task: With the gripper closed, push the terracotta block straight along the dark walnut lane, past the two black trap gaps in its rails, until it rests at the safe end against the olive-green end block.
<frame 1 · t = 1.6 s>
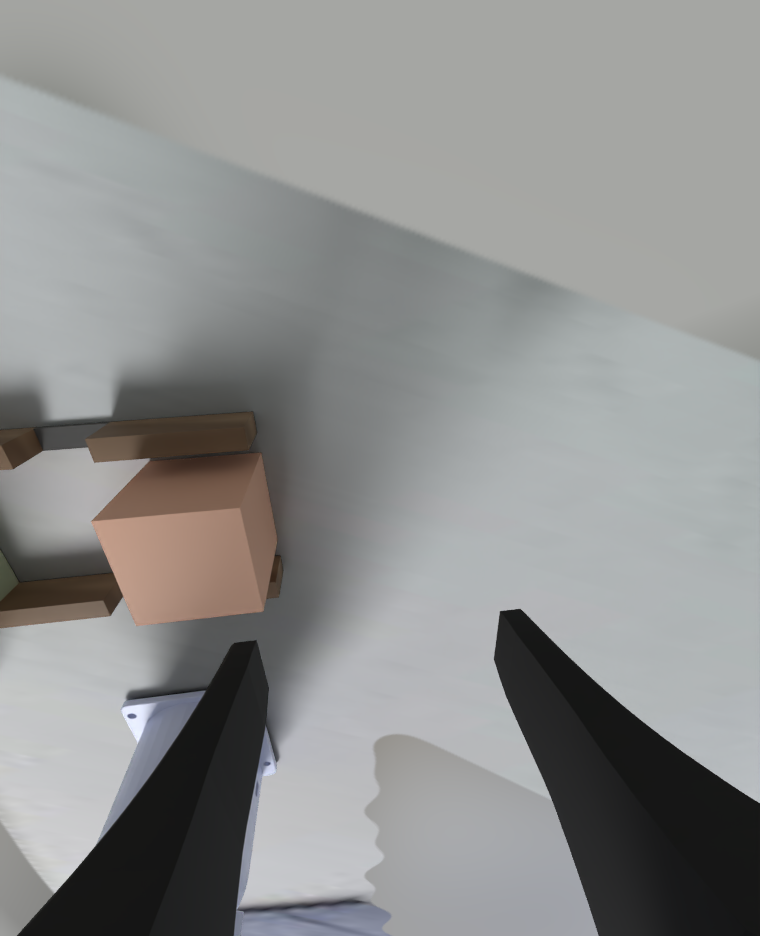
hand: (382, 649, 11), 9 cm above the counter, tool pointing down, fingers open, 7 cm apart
terracotta block: (218, 502, 19), on the counter
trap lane: (120, 512, 19), on the counter
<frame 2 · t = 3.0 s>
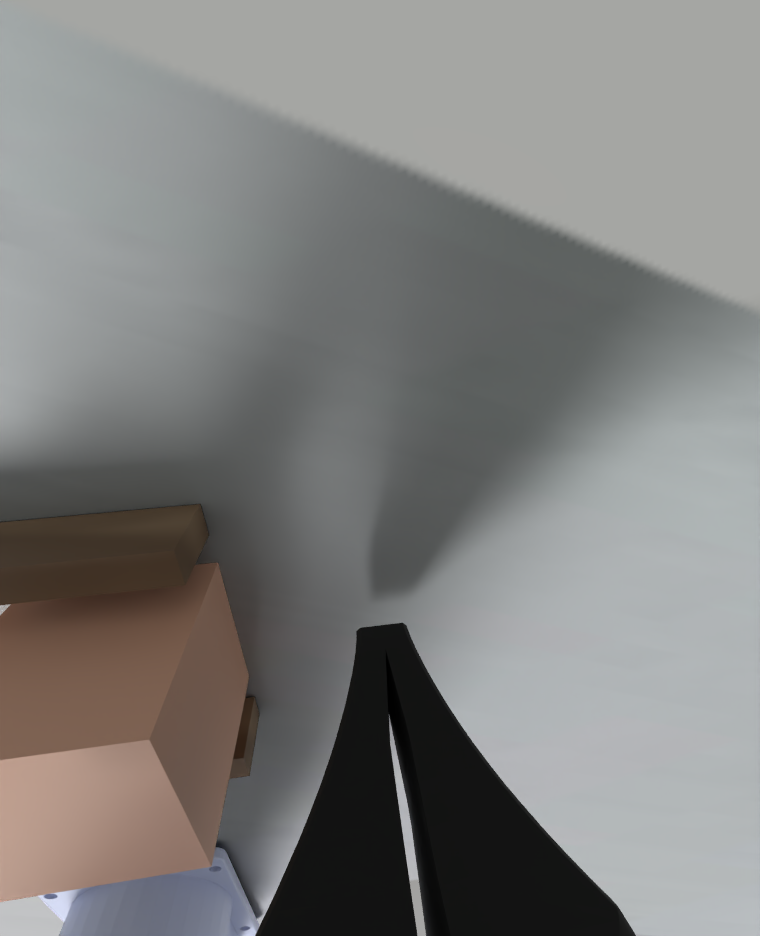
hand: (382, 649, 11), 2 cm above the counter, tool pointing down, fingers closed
terracotta block: (154, 632, 12), on the counter
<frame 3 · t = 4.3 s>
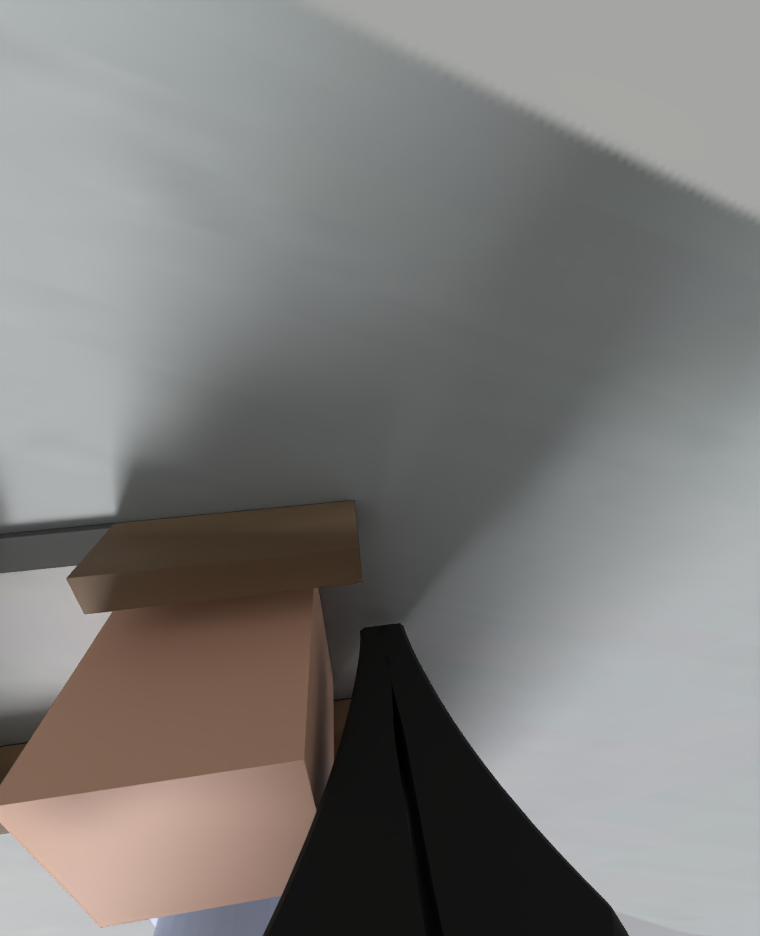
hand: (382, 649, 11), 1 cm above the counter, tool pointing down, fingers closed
terracotta block: (242, 638, 12), on the counter, touching gripper
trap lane: (130, 652, 12), on the counter
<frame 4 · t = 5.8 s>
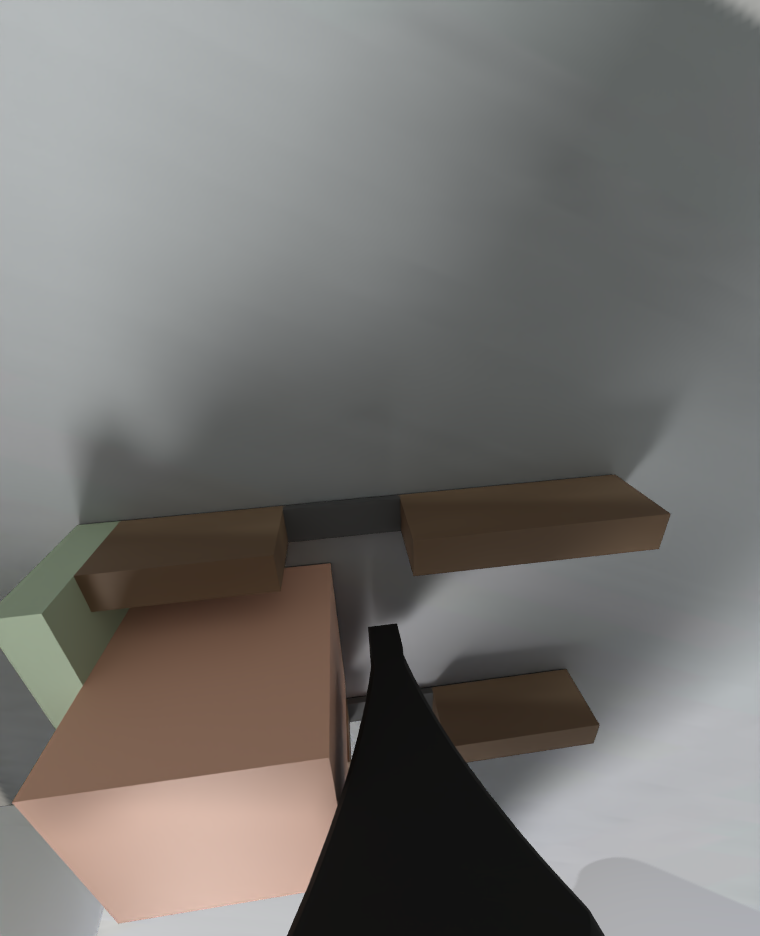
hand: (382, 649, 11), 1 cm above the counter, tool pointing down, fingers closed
foam cup: (34, 840, 16), on the counter
terracotta block: (256, 636, 12), on the counter, touching gripper, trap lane
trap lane: (370, 622, 12), on the counter
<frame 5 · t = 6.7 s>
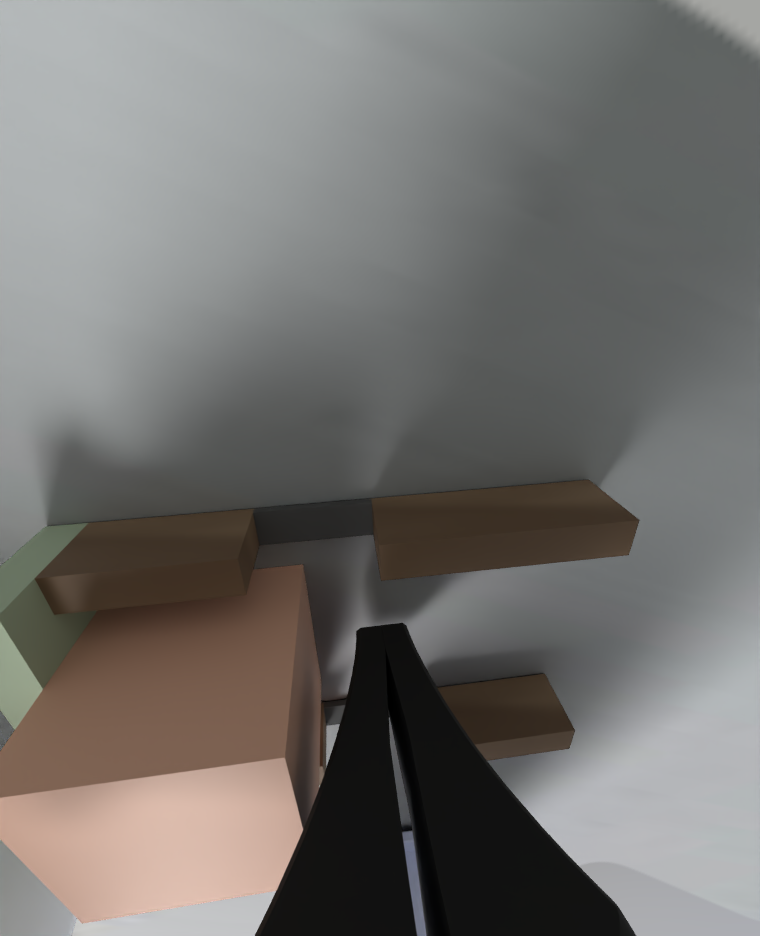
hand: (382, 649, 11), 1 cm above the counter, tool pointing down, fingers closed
foam cup: (10, 843, 16), on the counter
terracotta block: (230, 636, 12), on the counter
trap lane: (345, 626, 12), on the counter
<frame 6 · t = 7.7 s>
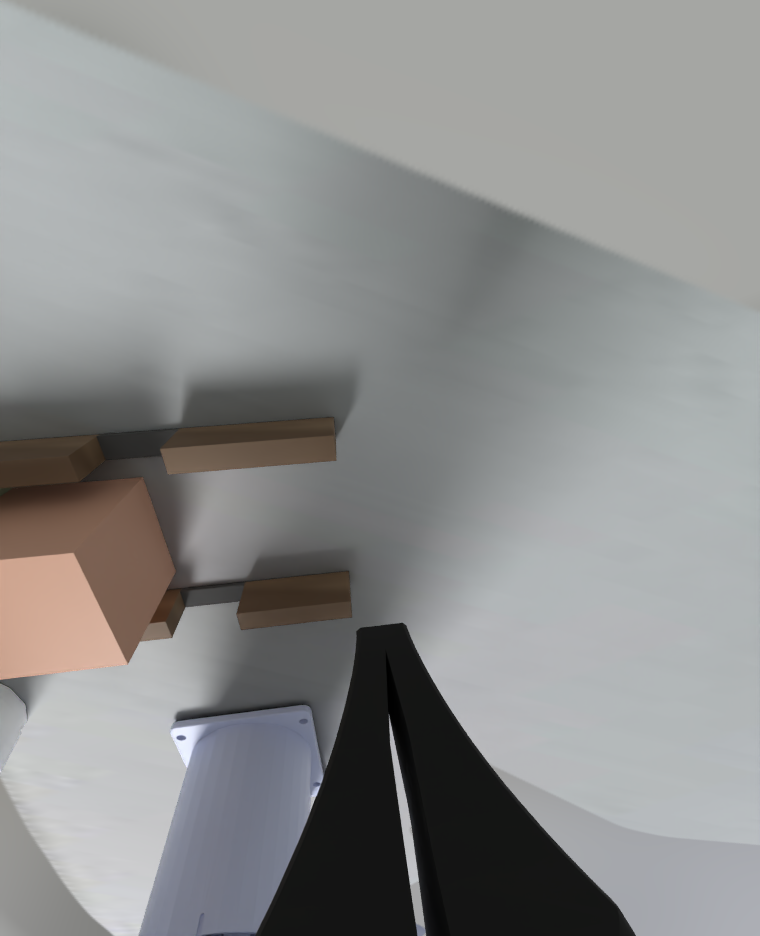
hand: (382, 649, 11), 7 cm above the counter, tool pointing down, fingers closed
terracotta block: (101, 531, 17), on the counter
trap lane: (183, 526, 17), on the counter
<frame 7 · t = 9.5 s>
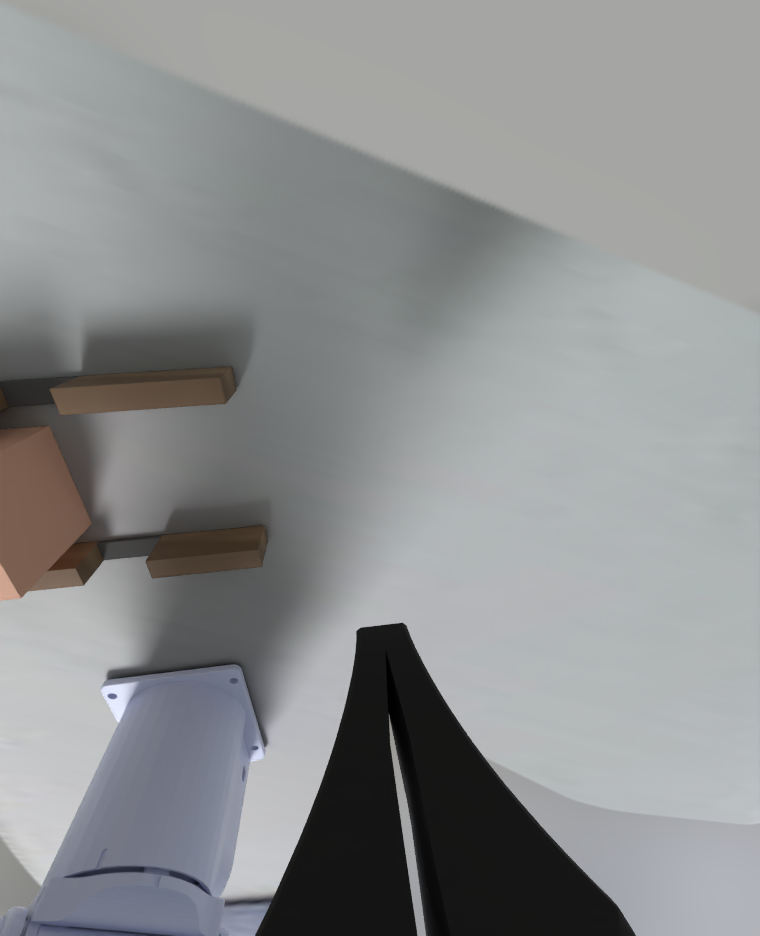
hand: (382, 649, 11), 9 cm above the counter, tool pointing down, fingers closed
terracotta block: (14, 481, 18), on the counter
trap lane: (94, 476, 18), on the counter
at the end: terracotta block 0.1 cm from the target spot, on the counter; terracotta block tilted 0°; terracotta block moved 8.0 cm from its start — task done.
